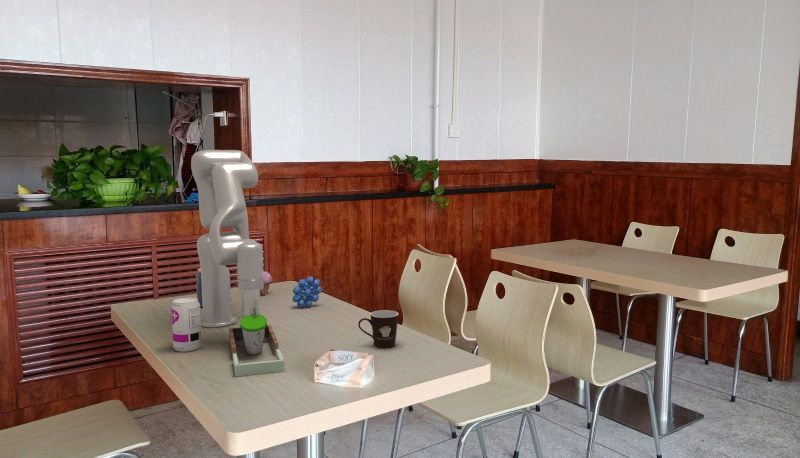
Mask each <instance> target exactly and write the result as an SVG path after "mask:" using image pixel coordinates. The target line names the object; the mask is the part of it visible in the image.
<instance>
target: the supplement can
mask: <svg viewBox="0 0 800 458" xmlns="http://www.w3.org/2000/svg"><path fill="white" fill-rule="evenodd" d="M170 307H171V308H170V310H171V311H170V312H171V327H172V328H171V329H172V331H171V332H172V348H173V349H174V350H175V351H177V352H180V353H181V352H182V353H183V352H184V353H185V352H186V353H187V352H193V351H197V350H198V349H200V347H202V345H203V342H202V341H203V340H202V326H201V316H200V309H201V307H200V303H199V302H198V299H197V297H192V296H191V297H189V296H187V297H180V298H175V299H173V300H172V303H171V306H170Z"/></svg>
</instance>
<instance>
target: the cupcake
mask: <svg viewBox="0 0 800 458" xmlns="http://www.w3.org/2000/svg"><path fill="white" fill-rule="evenodd" d="M263 280H264V288H263V289H261V290H260V296H266V295H267V294H268V291H269V288H270V284H271V282H272V281H273V278H272V275H271V273H269V272H268V271H264V270H263Z"/></svg>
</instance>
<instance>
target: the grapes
mask: <svg viewBox="0 0 800 458" xmlns="http://www.w3.org/2000/svg"><path fill="white" fill-rule="evenodd" d="M297 284H298V285H296V286H295V287H294V288H293V290H292V293H293V294H294V295H293V296H292V302H293V303H296V305H297V307H298V308H303V307H306V308H310V307H312V305H313V303H316V302H318V301H319V300H320V294H321V293H322V291H323V288H322V286H319V285H320V284H321V281H320V279H318V278H316V279H314V277H313V276H311V275H310V276H308V277H306V279H305V278H302V279H299V280H298V283H297Z"/></svg>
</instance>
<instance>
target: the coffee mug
mask: <svg viewBox="0 0 800 458" xmlns="http://www.w3.org/2000/svg"><path fill="white" fill-rule="evenodd" d="M369 315H370V319H369V318H367V317H363V318H360V320H358V323H357V324H358V325H357V326H358V328H359V330H361V332H363V333H364V334H365V335H368V336H369V337H371V339H372V340H373V346H374V347H375V348H377V349H381V348H382V350H385V349H386V348H388V349H392V347H393V348H394V347H395V346H396V340H397V330H398V323H399V312H397V311H395V310H389V309H387V310H386V309H384V310H383V309H382V310H375V311H372V312H370V314H369ZM363 321H367V322H368V323H369V324H370V325H371V330H372V331H371V332H372V333H369V332H368V331H366V330H364V329H363V328H362V327H361V324H362V322H363Z"/></svg>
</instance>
